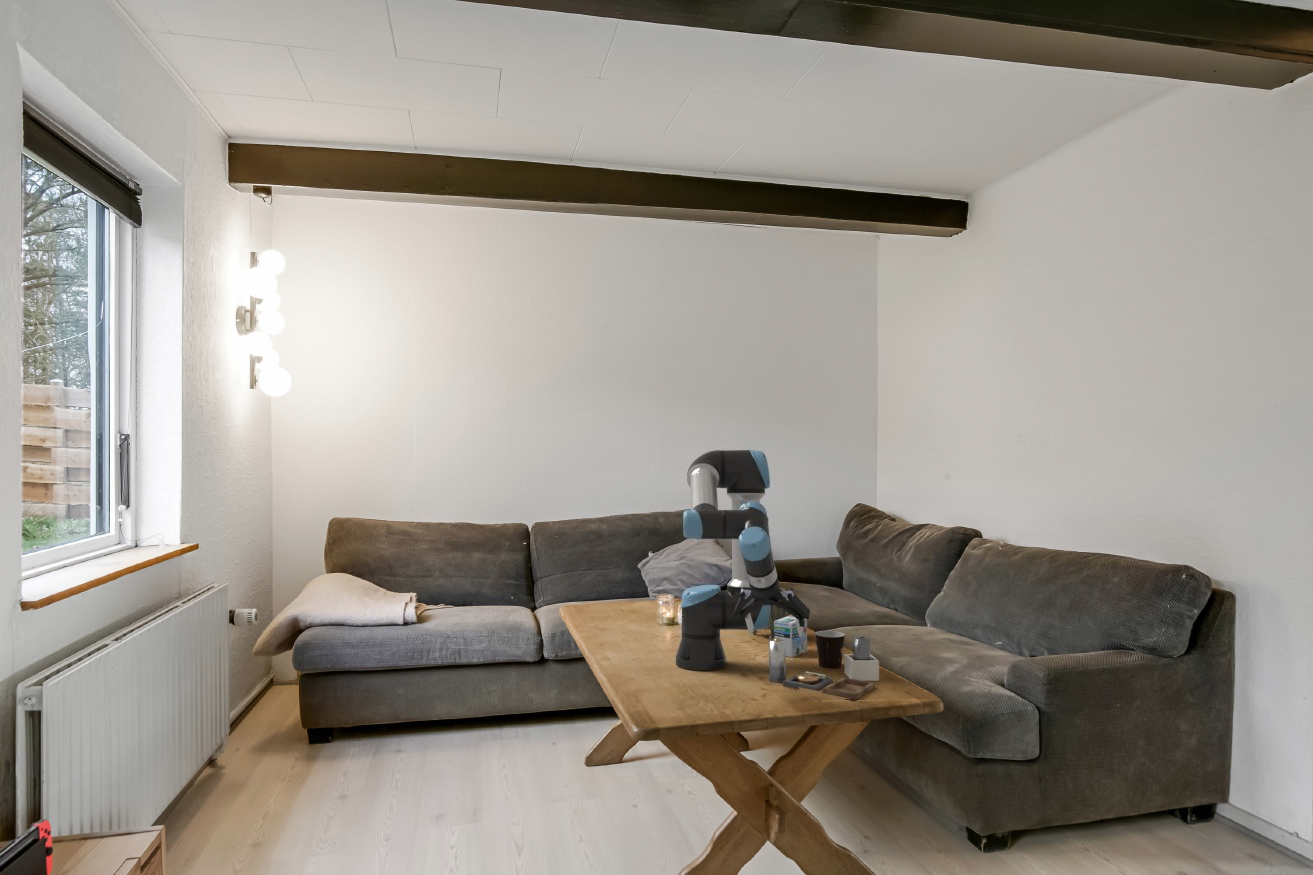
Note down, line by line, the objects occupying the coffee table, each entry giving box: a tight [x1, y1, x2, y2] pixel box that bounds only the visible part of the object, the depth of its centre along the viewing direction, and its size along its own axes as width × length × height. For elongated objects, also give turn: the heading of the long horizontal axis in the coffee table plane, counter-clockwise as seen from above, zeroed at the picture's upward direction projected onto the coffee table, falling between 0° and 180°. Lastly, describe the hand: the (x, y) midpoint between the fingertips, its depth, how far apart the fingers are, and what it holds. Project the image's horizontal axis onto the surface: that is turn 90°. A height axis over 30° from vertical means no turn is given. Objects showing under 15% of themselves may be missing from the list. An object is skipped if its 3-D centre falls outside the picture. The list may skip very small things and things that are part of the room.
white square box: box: [843, 653, 880, 682], centre depth 224 cm, size 8×8×6 cm
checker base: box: [782, 671, 834, 692], centre depth 218 cm, size 10×10×2 cm
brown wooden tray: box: [822, 677, 876, 702], centre depth 212 cm, size 13×9×2 cm
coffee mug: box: [814, 630, 846, 670], centre depth 235 cm, size 12×9×10 cm
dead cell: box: [852, 634, 871, 660], centre depth 225 cm, size 5×5×12 cm
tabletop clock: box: [752, 586, 791, 641], centre depth 276 cm, size 14×9×25 cm, turn 25°
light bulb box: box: [773, 615, 808, 658], centre depth 254 cm, size 11×7×11 cm, turn 143°
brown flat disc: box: [796, 672, 819, 684], centre depth 218 cm, size 6×6×1 cm
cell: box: [768, 638, 787, 684], centre depth 223 cm, size 5×5×12 cm
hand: (776, 631), depth 216 cm, fingers open, 13 cm apart
